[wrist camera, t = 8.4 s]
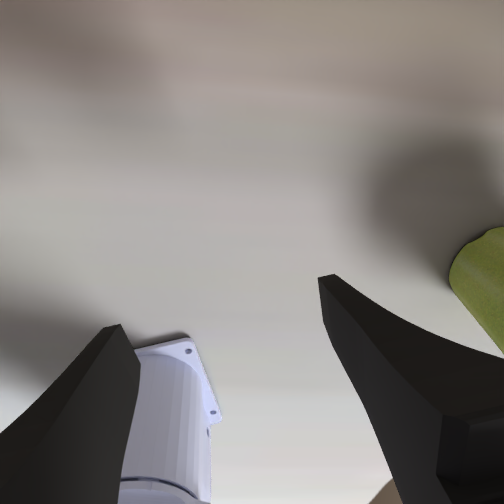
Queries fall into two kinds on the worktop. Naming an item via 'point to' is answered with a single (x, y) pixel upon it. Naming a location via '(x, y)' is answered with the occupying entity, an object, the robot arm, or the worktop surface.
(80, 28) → the worktop surface
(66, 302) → the worktop surface
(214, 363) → the worktop surface
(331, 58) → the worktop surface
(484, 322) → the plant pot
